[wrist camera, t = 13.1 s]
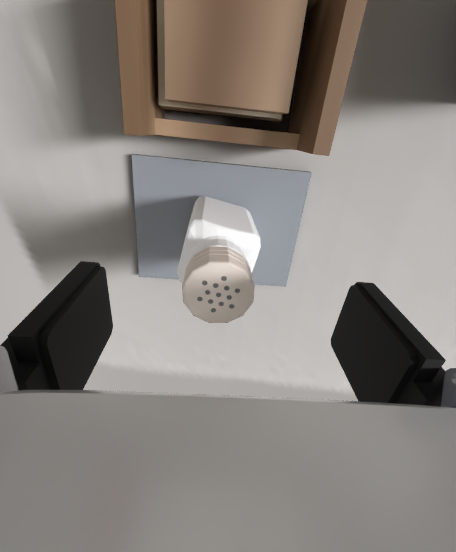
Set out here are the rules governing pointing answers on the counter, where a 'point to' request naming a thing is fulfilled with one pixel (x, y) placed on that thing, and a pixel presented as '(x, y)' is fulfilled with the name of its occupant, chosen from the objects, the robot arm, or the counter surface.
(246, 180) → the slate mat
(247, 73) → the block
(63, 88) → the counter surface
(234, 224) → the pepper shaker
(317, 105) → the brown wooden frame
